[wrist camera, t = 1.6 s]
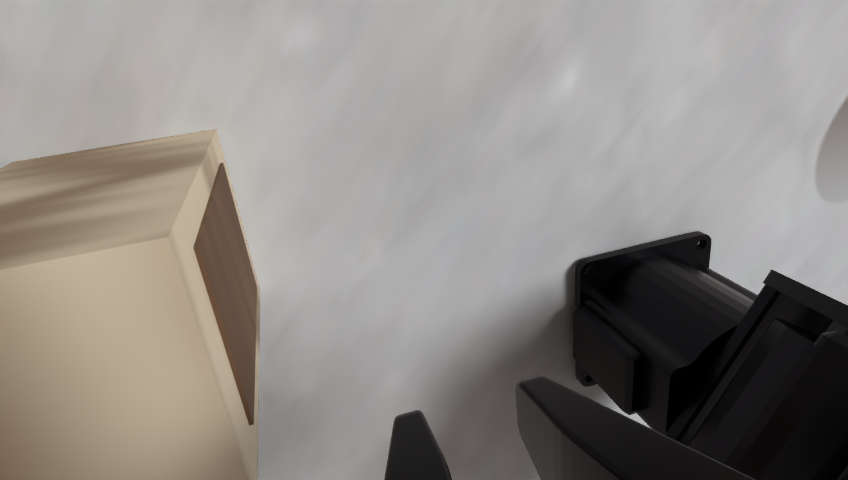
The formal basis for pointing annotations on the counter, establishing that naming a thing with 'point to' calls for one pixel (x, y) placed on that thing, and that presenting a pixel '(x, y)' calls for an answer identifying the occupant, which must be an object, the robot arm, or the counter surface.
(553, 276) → the counter surface
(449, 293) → the counter surface
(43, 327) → the birch block
